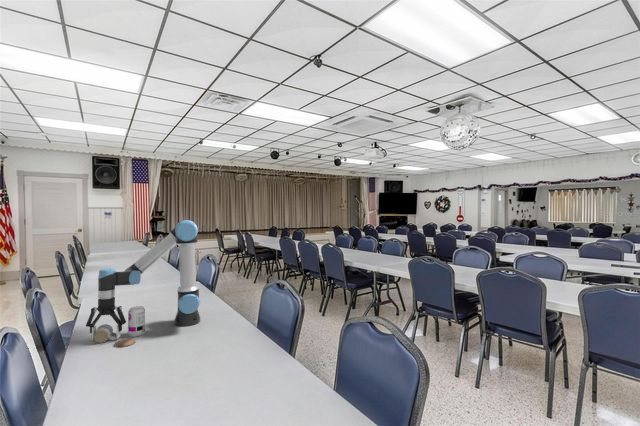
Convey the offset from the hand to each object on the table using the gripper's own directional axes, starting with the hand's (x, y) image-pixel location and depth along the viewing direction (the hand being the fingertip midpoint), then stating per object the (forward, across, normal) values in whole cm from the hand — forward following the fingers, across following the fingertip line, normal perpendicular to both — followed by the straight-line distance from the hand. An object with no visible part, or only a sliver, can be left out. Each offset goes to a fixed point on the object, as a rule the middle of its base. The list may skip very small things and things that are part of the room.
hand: (106, 338), depth 170 cm
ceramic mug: (+1, 0, 0) cm, 1 cm away
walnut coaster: (+1, -12, +7) cm, 14 cm away
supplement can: (+1, -13, -6) cm, 14 cm away
